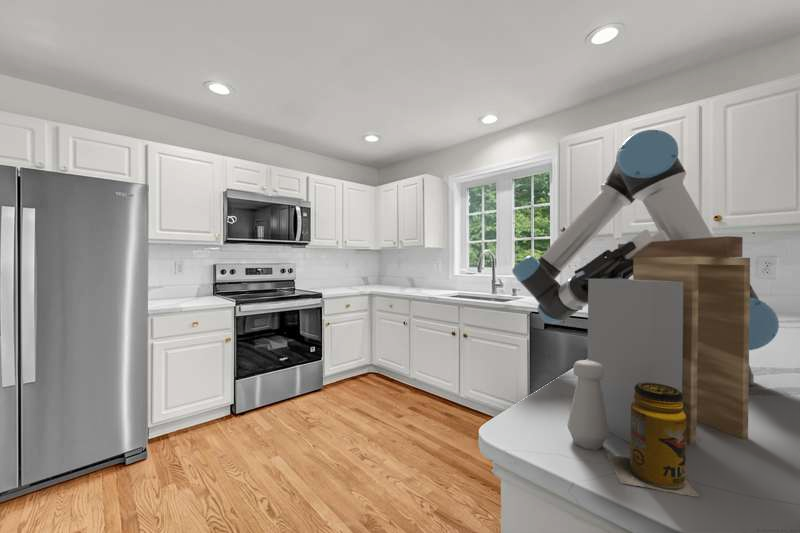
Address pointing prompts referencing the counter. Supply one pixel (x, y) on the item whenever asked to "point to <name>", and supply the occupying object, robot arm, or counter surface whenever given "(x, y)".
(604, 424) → the salt shaker
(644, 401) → the condiment
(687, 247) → the walnut rail
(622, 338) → the stone block
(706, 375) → the oak shelf
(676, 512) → the counter surface
